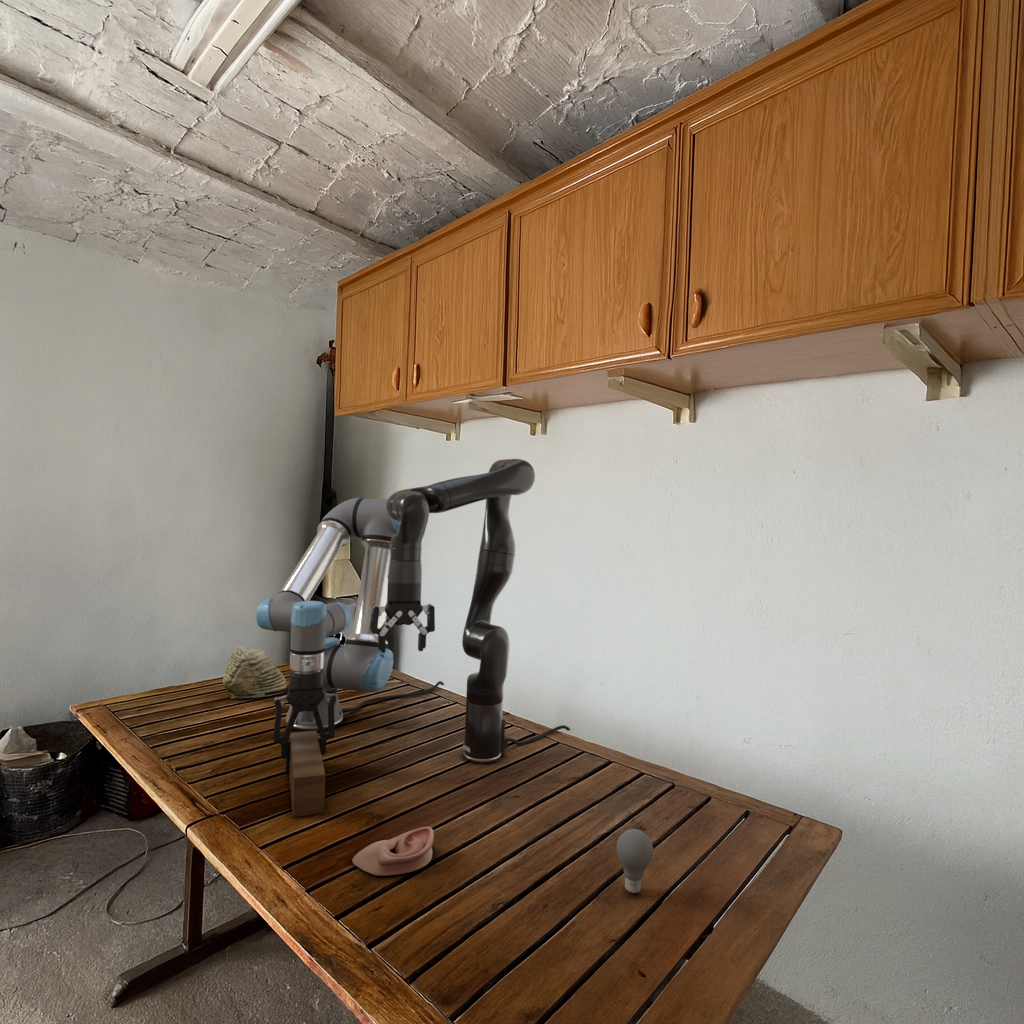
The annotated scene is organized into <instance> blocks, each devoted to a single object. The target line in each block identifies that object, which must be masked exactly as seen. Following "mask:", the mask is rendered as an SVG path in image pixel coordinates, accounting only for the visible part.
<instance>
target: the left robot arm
mask: <svg viewBox="0 0 1024 1024" xmlns="http://www.w3.org/2000/svg"><path fill="white" fill-rule="evenodd" d="M388 499H389V498H365V497H354V498H350V499H347V500H345V501H342V502H340V503H339V504H338V505H336V506H334V507H333V508H332V509H331V510H329V511H328V512H327V514H326V515H325V516H324V517H323V518H322V519H321V521H320V522H319V523H318V525H317V527H316V528H317V529H316V532H317V534H316V535H315V537H314V538H313V540H312V541H311V543H310V544H309V546H308V548H307V549H306V551H305V552H304V554H303V555H302V556H301V558H300V560H299V561H298V563H297V564H296V566H295V568H294V569H293V571H292V572H291V574H290V575H289V576H288V578H287V580H286V582H285V583H284V585H283V586H282V588H281V589H280V591H279V592H278V593H277V595H276V596H275V598H268V599H264V600H262V601H260V602H259V604H258V605H257V607H256V610H255V621H256V623H257V626H258V627H259V628H261V629H263V630H267V631H272V632H283V633H284V632H286V633H290V649H289V650H290V651H289V669H290V671H289V674H288V675H289V676H288V677H289V678H288V690H287V692H286V693H285V695H283V696H280V697H279V696H275V697H274V701H273V703H274V707H275V716H274V725H273V735H272V736H273V737H272V741H273V744H279V745H280V758H281V760H285V775H289V773H290V747H291V745H290V734H291V733H293V732H292V731H294V732H304V731H316V732H317V733H318V734H319V737H320V738H319V737H318V742H319V746H320V751H321V756H324V755H326V753H327V741H328V740H330V739H334V738H335V735H336V732H335V730H336V728H337V727H339V726H340V725H342V723H343V722H344V714H343V712H345V713H346V712H354V711H357V710H359V709H360V708H361V707H362V706H365V705H366V704H369V703H372V702H376V701H383V700H389V699H398V698H407V697H415V696H418V695H422V694H427V693H429V692H432V691H434V690H436V689H437V688H438V687H439V686H440V685H441V686H445V683H444V682H443V681H442V680H439V681H438V682H436V684H435V685H433V686H432V687H430V688H427V689H424V690H420V691H415V692H409V693H400V694H399V693H398V694H392V695H383V696H378V697H377V696H376V697H373V698H368V699H366V700H363V701H361V702H360V703H359V704H358V705H355V706H353V707H346V708H342V706H341V702H340V699H339V695H338V689H339V690H347V691H354V692H355V691H357V692H360V693H366V692H367V693H377V692H379V691H381V690H382V689H383V688H384V687H385V685H386V684H387V683H388V681H389V679H390V677H391V675H392V671H393V668H394V653H393V651H392V650H390V649H389V648H388V647H389V642H388V641H387V640H386V645H385V653H381V650H379V649H378V635H377V634H373V633H372V632H371V631H370V624H371V614H372V606H373V605H377V606H384V607H385V606H386V603H387V588H388V578H387V575H388V568H389V562H390V544H391V538H392V536H393V535H394V534H396V533H398V532H399V528H400V523H401V522H400V521H396V520H394V519H393V518H391V517H390V516H389V514H388V513H387V510H386V504H387V501H388ZM355 538H359V539H361V544H362V545H363V547H364V548H365V552H364V558H363V562H362V563H363V564H362V571H361V576H360V581H359V582H360V583H359V588H358V597H357V601H356V606H355V607H356V608H355V614H354V620H353V625H352V632H351V634H350V635H348V636H347V637H346V638H345V642H344V644H340V643H341V641H340V639H339V638H338V637H334V636H335V635H339V634H340V633H342V632H343V631H345V630H347V629H348V628H349V626H350V625H351V623H352V618H353V617H352V612H351V610H350V608H349V607H348V606H347V604H345V603H343V602H340V601H336V602H333V601H332V602H329V603H325V602H323V601H319V600H311V599H312V597H313V595H314V593H315V592H316V590H317V589H318V587H319V585H320V583H321V582H322V580H323V579H324V577H325V575H326V573H327V572H328V571H329V569H330V567H331V565H332V563H333V562H334V560H335V558H336V557H337V554H338V553H339V552H340V550H341V549H342V547H345V546H346V545H347V544H348V543H349V542H350V540H352V539H355ZM387 617H388V615H387V614H386V612H385V611H384V612H383V613H382V615H381V616H379V618H378V628H379V629H380V627H381V626H382V625H383V623H384V621H385V620H386V619H387ZM286 702H288V704H289V708H288V711H287V713H286V715H285V728H284V731H283V733H282V735H281V725H282V717H283V708H284V707H285V705H286Z"/></svg>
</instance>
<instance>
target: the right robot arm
mask: <svg viewBox="0 0 1024 1024" xmlns="http://www.w3.org/2000/svg"><path fill="white" fill-rule="evenodd" d="M534 469H535V468H534V467H533V466H532V464H531V463H530V462H528V461H527V460H524V459H521V458H506V459H498V460H496V461H495V462H493V463H492V464H491V465H490V467H489V469H488V472H486V473H480V474H475V475H467V476H459V477H455V478H449V479H446V480H441V481H438V482H435V483H432V484H429V485H424V486H418V487H412V488H406V489H401V490H398V491H395V492H393V493H392V494H391V495H390V496H389V497H388V498H387V499H388V501H387V504H386V510H387V513H388V514H389V516H390V517H391V518H393V519H394V520H396V521H400V522H401V523H400V528H399V532H398V533H396V534H394V535H393V536H392V538H391V544H390V562H389V568H388V575H387V578H388V588H387V603H386V606H385V607H384V606H377V605H373V606H372V614H371V624H370V631H371V632H372V633H373V634H377V635H378V649H379V650H381V653H385V645H386V641H387V637H386V634H387V633H388V631H389V630H391V629H392V627H394V625H395V626H402V625H403V626H404V625H406V626H411V625H412V624H413V625H414V626H415V627H416V628H417V630H418V631H419V632H418V635H417V650H418V652H423V651H424V649H426V647H427V635H428V634H429V633H433V632H435V631H436V613H435V612H436V611H435V609H436V607H435V606H434V605H433V604H432V603H428V604H426V605H422V581H423V580H422V579H423V567H422V566H423V565H422V553H423V551H422V550H423V540H424V536H425V534H426V530H427V526H428V522H429V517H430V514H441V513H445V512H450V511H452V510H455V509H459V508H462V507H465V506H468V505H471V504H474V503H475V504H476V503H478V502H481V501H485V510H484V519H483V524H482V525H483V527H482V534H481V541H480V546H479V551H478V558H477V564H476V571H475V572H476V574H475V579H474V585H473V590H472V595H471V600H470V605H469V609H468V612H467V616H466V621H465V623H464V624H465V625H464V628H463V633H462V638H461V640H462V641H461V645H462V650H463V652H464V653H465V655H467V656H468V657H470V658H472V659H476V660H477V661H480V662H479V669H478V671H477V672H476V671H475V672H472V673H470V674H469V675H468V676H467V677H466V678H467V679H466V698H465V716H464V717H465V718H464V719H465V721H464V741H463V742H464V743H463V744H462V749H463V753H462V754H463V755H462V756H463V758H464V759H465V760H466V761H469V762H471V763H476V764H490V763H494V762H498V761H499V760H500V759H501V757H504V756H505V755H504V754H505V750H506V749H509V742H512V743H513V744H514V745H516V746H517V745H518V746H521V745H527V744H529V743H532V742H534V741H537V740H539V739H542V738H543V737H545V736H547V735H549V734H552V733H554V732H556V731H559V730H562V729H564V730H566V731H571V728H570V727H569V726H567V725H558V726H556V727H553V728H550V729H547V730H545V731H543V732H541V733H540V734H538V735H536V736H533V737H531V738H528V739H525V740H516V739H515V738H512V737H508V736H506V718H505V717H504V716H503V712H504V687H505V686H504V685H505V682H506V679H507V676H508V671H509V670H508V669H509V661H510V660H509V659H510V650H511V649H510V645H511V644H510V642H511V641H510V636H509V633H508V631H507V630H506V628H504V627H503V626H500V625H496V624H492V615H493V612H494V611H493V610H494V606H495V604H496V601H497V599H498V597H499V596H500V595H501V593H502V592H503V590H504V589H505V588H506V586H507V584H508V583H509V582H510V580H511V577H512V575H513V571H514V569H515V568H514V567H515V560H516V555H517V543H516V539H515V535H514V532H513V528H512V526H511V521H510V505H511V500H512V496H521V495H524V494H526V493H528V492H529V491H530V490H531V489H532V487H533V486H534V484H535V481H536V473H535V470H534ZM384 611H385V612H386V614H387V617H386V620H385V621H384V623H383V625H382V626H381V627H380V629H379V628H378V618H379V616H381V615H382V613H383V612H384ZM422 612H423V613H424V614H425V615H426V626H424V624H423V623H422V622H421V621H420V619H419V616H420V615H421V614H422Z"/></svg>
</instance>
